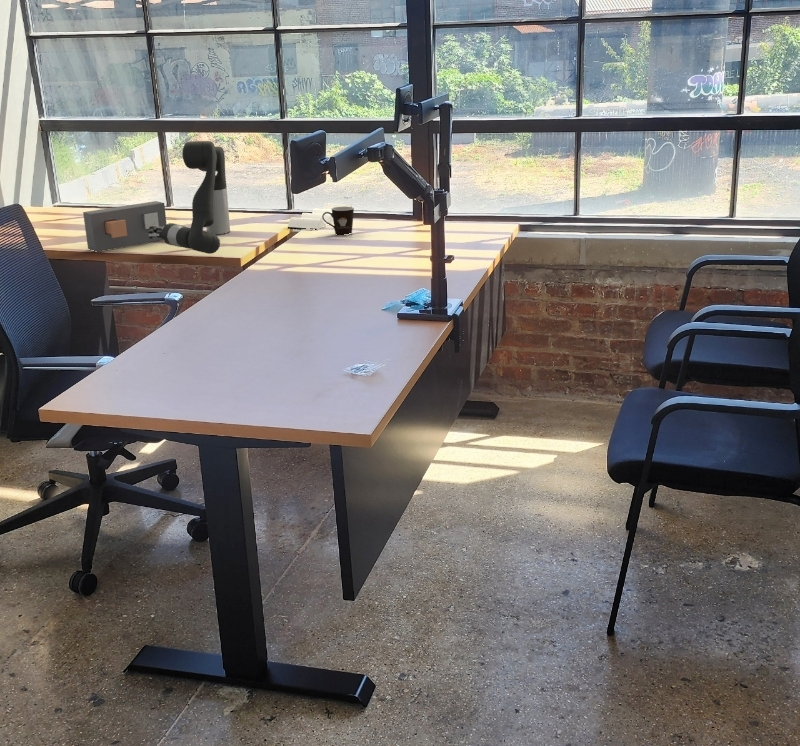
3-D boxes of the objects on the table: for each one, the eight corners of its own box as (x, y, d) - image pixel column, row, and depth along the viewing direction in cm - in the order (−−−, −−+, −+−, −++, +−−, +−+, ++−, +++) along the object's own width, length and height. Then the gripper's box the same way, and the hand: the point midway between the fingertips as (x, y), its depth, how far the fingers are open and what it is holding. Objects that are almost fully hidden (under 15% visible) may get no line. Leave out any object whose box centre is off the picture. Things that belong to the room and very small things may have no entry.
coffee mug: (358, 232, 360) (357, 207, 356) (348, 237, 353) (347, 211, 349) (332, 230, 364) (331, 205, 361) (321, 234, 357) (320, 209, 354)
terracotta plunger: (100, 234, 338) (98, 218, 336) (113, 231, 342) (112, 216, 340) (113, 237, 331) (111, 222, 329) (127, 235, 335) (125, 220, 333)
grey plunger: (132, 225, 352) (130, 211, 350) (145, 223, 355) (143, 209, 353) (145, 229, 345) (144, 214, 343) (158, 226, 349) (157, 212, 347)
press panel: (88, 249, 339) (83, 212, 334) (160, 236, 358) (156, 201, 353) (95, 252, 335) (90, 214, 330) (168, 239, 354) (164, 202, 349)
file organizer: (286, 230, 369) (285, 217, 368) (324, 214, 400) (324, 202, 398) (315, 232, 365) (315, 219, 363) (352, 216, 395) (351, 204, 393)
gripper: (192, 221, 322) (166, 216, 333) (159, 227, 313) (133, 221, 324) (194, 243, 324) (168, 236, 336) (161, 249, 315) (136, 242, 327)
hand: (151, 229), depth 330 cm, fingers closed
